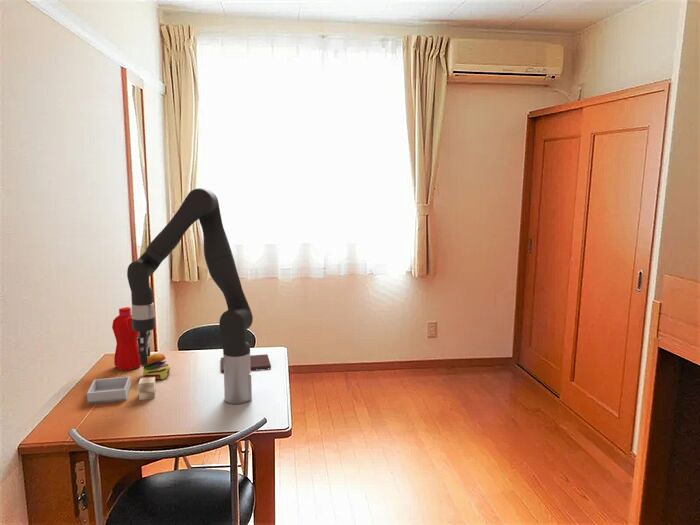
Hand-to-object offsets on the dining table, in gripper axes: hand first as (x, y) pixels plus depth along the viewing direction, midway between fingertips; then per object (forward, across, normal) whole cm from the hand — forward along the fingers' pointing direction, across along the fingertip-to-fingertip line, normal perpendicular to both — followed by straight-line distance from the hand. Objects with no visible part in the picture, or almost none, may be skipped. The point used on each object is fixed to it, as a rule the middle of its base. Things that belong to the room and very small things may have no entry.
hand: (145, 360), depth 181 cm
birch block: (+14, 0, 0) cm, 14 cm away
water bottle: (+14, +32, +11) cm, 36 cm away
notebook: (+14, +23, -36) cm, 45 cm away
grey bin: (+14, +4, +13) cm, 19 cm away
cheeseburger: (+14, +19, -1) cm, 23 cm away
